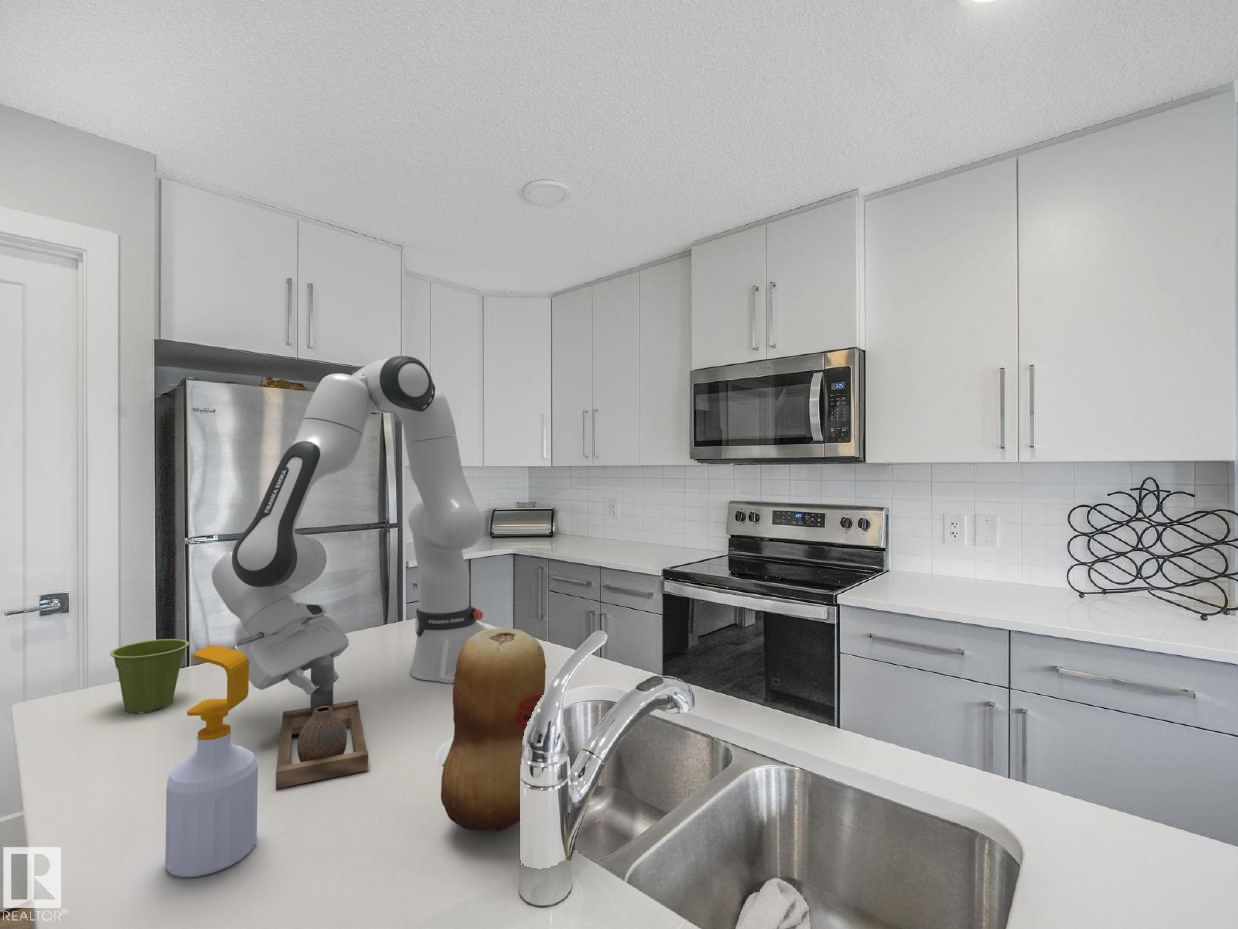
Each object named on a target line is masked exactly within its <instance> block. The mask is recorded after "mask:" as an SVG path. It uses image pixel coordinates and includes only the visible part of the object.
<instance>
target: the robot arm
mask: <svg viewBox="0 0 1238 929" xmlns="http://www.w3.org/2000/svg"><path fill="white" fill-rule="evenodd" d="M306 407H307V408H306V410H305V412H304V414H303V418H302V421H301V424H300V426H299V429H298V432H297V435H296V437H295V438H294V441H293V442H292V444H291V446H289V447H288V449H287V450H286V451H285V453H284V454H283V456H282V458H281V459H280V462H279V464H278V465H277V468H276V469H275V472H274V473H273V477H272V478H271V481H270V483H269V485H268V488H267V490H266V492H265V494H264V496H263V499H262V501H261V502H260V506H259V508H258V510H257V512H256V514H255V517H254V518H253V519H252V522H251V523H250V524H249V525H248V526H247V528H246V529H245V530H244V531H243V533H242V534H241V535H240V537H239V538H238V539H237V541H236V542H235V545H234V547H233V549H232V550H230V551H229V552H228V553H225V554H224V555H223V556H222V557H221V558H220V559H219V560H218V561H217V563H216V564H215V565H214V567H213V568H212V571H211V581H212V584H213V586H214V589H215V590H216V593H217V594H218V596H219V597H220V599H221V600H222V602H223V603H224V604H225V606H226V607H227V609H228V610H229V612H230V613H231V614H233V615H235V616H236V617H237V618H238V619H239V621H240V623H241V627H242V628H243V630H244V632H245V633H246V635H248V636H247V637H243V638H240V639H238V640H237V642H236V644H235V645H234V649H233V650H236V651H239V652H242V653H243V654H245V655H246V656H247V658H248V661H249V683H251V685H252V686H253V687H254V688H256V689H258V690H260V691H263V690H265V689H267V688H268V689H269V688H270V687H272V686H274V685H277V684H278V683H281V682H284V681H286V680H288V682H289V683H290V684H291V685H293V686H295V687H297V688H300V689H302V690H303V691H304V693H305V694H306V695H307V696H311V694H312V693H314V692H316V691H317V690H318V689H319V684H317V682H316V680H315V679H313V680H311V678H309V677H307V676H305V675H304V674H305V673H304V672H306V671H308V670H311V660H313V659H316V658H319V657H333V658H336V657H338V656H340V655H342V653H343V652H344V651H345V650H346V649H347V648H348V647H349V645H350V642H349V638H348V636H347V635H346V633H345V632H344V631H343V630H342V628H341V627H340V625H338V624H337V622H336V621H335V620H334V619H333V618H331V617H330V616H328V615H326V613H327V609H326V608H325V606H323V605H322V604H318V603H317V604H315V603H303V602H296V601H295V600H294V599H293V597H292V594H293V593H296V592H297V591H298V592H299V591H300V590H301V589H303V588H305V587H306V586H309V585H310V584H311V583H313V582H314V581H316V580H317V579H318V578H319V577H320V576H322V573H323V572H324V570H325V567H326V563H327V554H326V550H325V547H324V546H323V544H322V543H321V542H320V541H318V540H317V539H315V538H312V537H310V536H307V535H303V534H299V533H296V526H297V522H298V521H299V517H300V515H301V512H302V510H303V507H304V505H305V503H306V501H307V499H308V498H307V497H308V496H309V493H310V490H311V488H312V487H313V486H314V485H315V483H316V482H318V480H319V479H321V478H323V477H325V476H328V475H333V474H337V473H339V472H341V471H344V470H345V469H348V467H350V466H351V465H352V463H353V462H354V460H355V458H356V456H357V454H358V452H359V450H360V447H361V443H362V440H363V436H364V433H365V428H366V424H367V421H368V419H369V417H370V416H372V415H378V414H391V413H395V414H396V416H397V417H398V418H399V420H400V421H401V423H402V426H403V435H404V442H405V448H406V453H407V454H406V455H407V460H408V465H409V470H410V476H411V479H412V481H413V482H414V484H415V485H416V488H417V490H418V493H419V496H420V497H421V501H419V502H417V503H416V504H415V505H414V506H413V507H412V508H411V510H410V512H409V514H408V526H409V528H410V531H411V535H412V539H413V540H412V541H413V548H414V554H415V559H416V564H417V565H416V566H417V574H418V575H417V576H418V596H417V597H418V603H417V604H418V607H417V609H416V611H415V621H414V622H415V628H414V629H415V634H416V639H415V640H416V641H415V642H416V643H415V648H414V654H413V659H412V663H411V666H410V670H409V675H410V676H412V677H414V678H415V679H419V680H423V681H431V682H432V681H434V682H441V683H444V684H453V683H454V677H455V671H456V665H457V660H458V657H459V654H460V651H461V649H462V647H463V646H464V644H465V643H466V641H467V640H468V639H469V638H470V637H471V636H473V635H474V634H476V633H478V632H480V631H483V630H487V629H488V628H487V627H485V626H484V625H482V624H481V623H480V622H478V621H480V620H482V618H483V617H484V612H483V611H481V609H477V607H476V608H475V606H472V605H470V572H469V568H468V566H467V565H466V562H465V558H464V554H463V550H466V549H469V548H471V547H473V546H475V545H476V544H478V543H479V541H480V540H481V539H482V537H483V535H484V534H485V533H484V532H485V528H486V524H485V518H484V515H483V514H482V512H481V511H480V510H479V509H478V507H477V505H476V503H475V501H474V498H473V495H472V493H471V490H470V486H469V484H468V482H467V480H466V477H465V474H464V470H463V466H462V461H461V455H460V449H459V443H458V438H457V433H456V431H457V430H456V426H455V423H454V422H455V421H454V418H453V413H452V412H451V407H450V405H449V403H448V400H447V398H446V396H445V395H444V394H443V393H442V392H440V391H438V390H437V389H436V386H435V383H434V382H433V378H432V376H431V372H430V371H429V369H428V368H427V366H426V365H425V364H424V363H423V362H422V361H421V360H420V359H417V358H415V357H413V356H408V355H396V356H393V357H387V358H382V359H377V360H375V361H373V362H372V363H369V364H367V365H363V366H360V367H357V368H356V369H355V370H353V371H352V372H351V373H350V374H347V373H331V374H328V375H326V376H324V377H323V378H322V379H321V380H320V382H319V383H318V385H317V387H316V388H315V390H314V392H313V394H312V396H311V397H310V400H309V403H308V405H307V406H306ZM335 669H336V667H334V674H333V684H334V683H336V682H337V681H338V680H339V679H340V675H339V673H338V672H337V671H336V670H335Z"/></svg>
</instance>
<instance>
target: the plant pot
mask: <svg viewBox="0 0 1238 929" xmlns="http://www.w3.org/2000/svg"><path fill="white" fill-rule="evenodd" d="M189 645H190V642H189V641H188V640H185V639H177V638H165V639H164V638H163V639H153V640H146V641H139V642H134V643H129V644H126V645H123V646H119V647H117V648H115V649H113V650H110V652H109V654H110V656H111V657H113V659H114V664H115V668H116V669H117V672H118V674H117V675H118V679H119V684H120V690H121V695H122V696H121V697H122V701H123V707H124V711H126V712H128V713H132V714H139V713H140V714H141V713H150V712H153V711H155V710H156V709H159V708H161V709H163V708H166V707H168V706H169V705H171V704H172V703H173V702H174V698H175V692H176V687H177V683H178V677H179V672H180V668H181V664H182V660H183V659H184V655H185V653H186V652H185V651H186V648H187V647H188V646H189Z"/></svg>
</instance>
